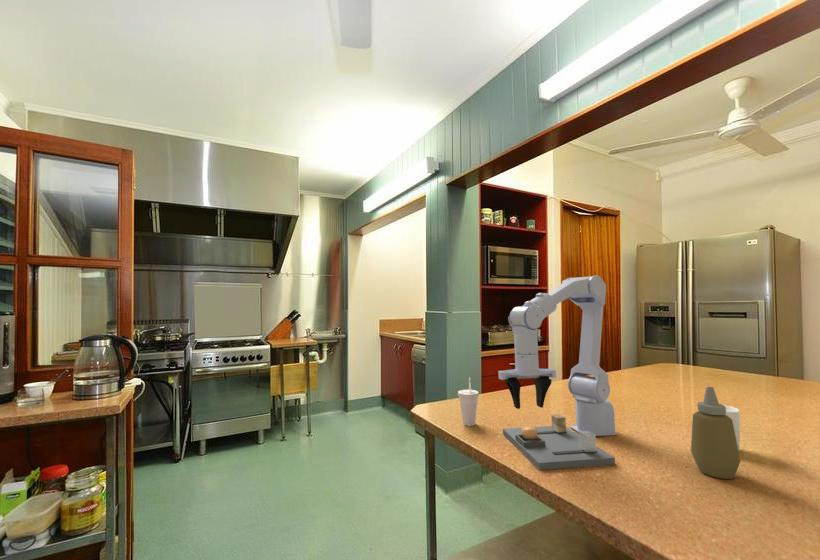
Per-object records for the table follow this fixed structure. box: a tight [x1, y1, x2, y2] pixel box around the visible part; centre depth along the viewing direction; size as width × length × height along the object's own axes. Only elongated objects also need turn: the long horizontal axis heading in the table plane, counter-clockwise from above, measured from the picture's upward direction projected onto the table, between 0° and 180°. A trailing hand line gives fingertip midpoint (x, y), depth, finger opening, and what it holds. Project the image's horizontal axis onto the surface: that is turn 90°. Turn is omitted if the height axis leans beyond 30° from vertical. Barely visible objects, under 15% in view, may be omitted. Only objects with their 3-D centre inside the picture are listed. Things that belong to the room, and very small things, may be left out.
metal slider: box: [577, 430, 597, 452], centre depth 85 cm, size 2×3×4 cm
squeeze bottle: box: [690, 386, 741, 480], centre depth 77 cm, size 8×8×18 cm
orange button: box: [521, 425, 537, 439], centre depth 91 cm, size 4×4×2 cm
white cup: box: [723, 404, 741, 452], centre depth 89 cm, size 8×8×10 cm
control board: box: [502, 425, 616, 471], centre depth 91 cm, size 18×22×3 cm
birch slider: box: [551, 413, 567, 432], centre depth 98 cm, size 2×3×4 cm
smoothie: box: [457, 377, 480, 427], centre depth 111 cm, size 6×6×14 cm
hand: (528, 407), depth 91 cm, fingers open, 5 cm apart
